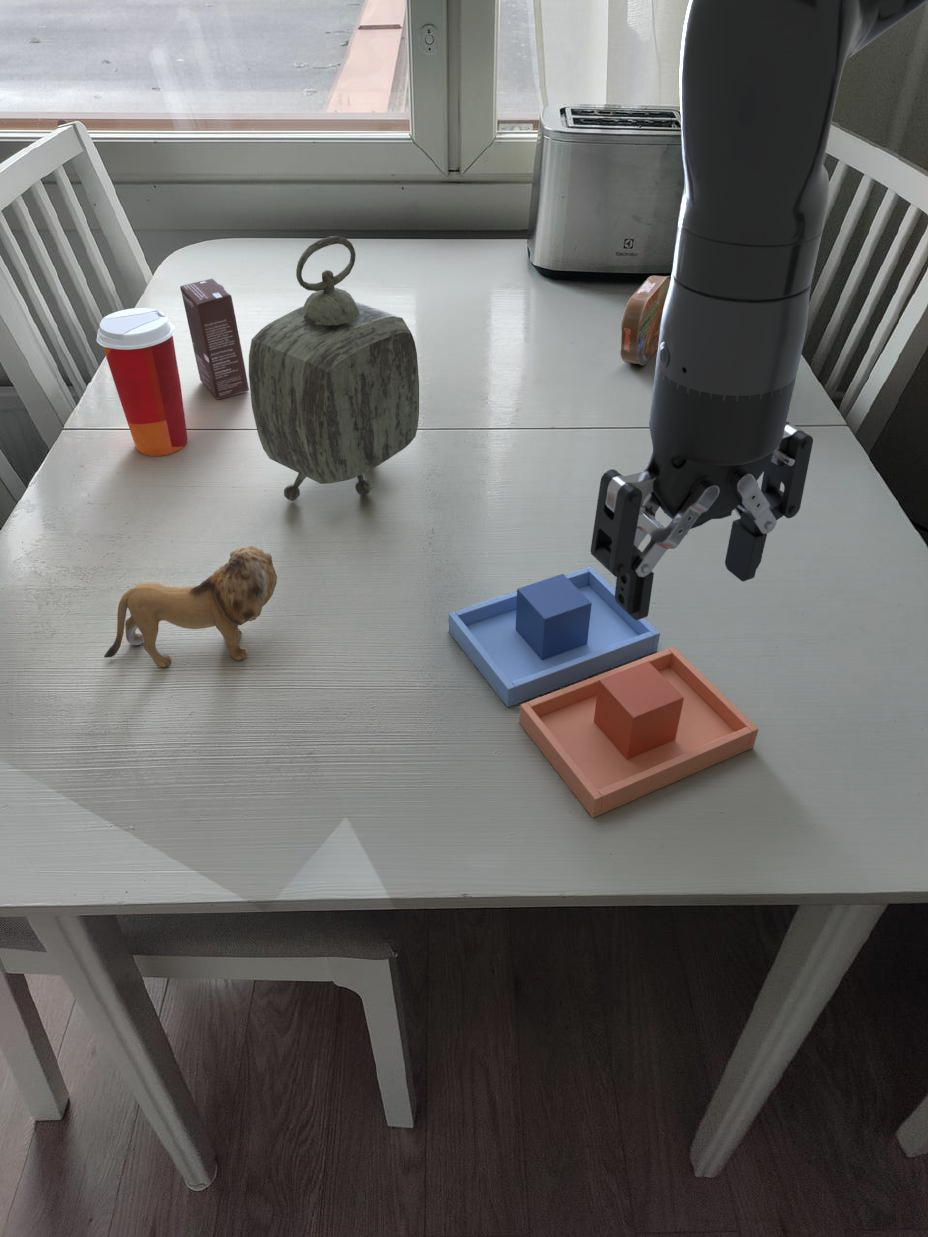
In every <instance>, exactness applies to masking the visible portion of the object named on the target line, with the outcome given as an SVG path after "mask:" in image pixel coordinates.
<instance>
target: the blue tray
mask: <svg viewBox="0 0 928 1237" xmlns="http://www.w3.org/2000/svg"><path fill="white" fill-rule="evenodd" d="M564 575H565V576H566V577H567V578H568V579H569V580H570V581H571V582H572V584H573V585H574V586H575V587H576V588H577V589H578V590H579V591H580V592H581V593H582V594H583V595H584V596H585V597H586V598H587V599H588V600H589V601H590V602H591V603H592V605H591V614H590V623H589V633H588V642H587V644H585V645H583V646H580V647H577V648H574V649H572V650H569V651H566V652H563V653H561V654H558V655H555V656H552V657H550V658H547V659H544V660H541V658H540V657H539V656H538V655H537V654H536V653H535V651H534V650H533V649H532V648H531V647H530V646H529V644H528V643H527V642H526V641H525V640H524V639H523V637H522V636H521V635H520V634H519V633H518V632H517V630H516V605H517V590H515V591H512V592H509V593H507V594H504V595H501V596H498V597H494V598H491V599H488V600H485V601H482V602H479V603H476V604H473V605H471V606H467V607H464V608H461V609H458V610H455V611H452V612H449V613H448V632H449V634H450V635H451V636H452V638H453V639H454V640H455V642H456V643H457V644H458V645H459V647H460V648H461V649H462V651H463V652H464V653H465V654H466V656H467V657H468V658H469V660H470V661H471V663H473V665H474V666H475V667H476V669H477V670H478V671H479V673H480V674H481V676H483V678H484V679H485V680H486V682H487V683H488V685H490V687H491V688H492V690H493V691H494V692H495V693H496V694H497V696H498V697H499V698H500V700H501V701H502V702H503V704H504V706H506V707H507V708H511V707H513V706H516V705H518V704H522V703H525V702H526V701H530V700H532V699H535V698H538V697H540V696H542V695H546V694H548V693H549V692H550V693H551V692H552V691H553V692H554V691H556V690H559V689H562V688H564V687H567V686H568V685H572V684H575V683H576V682H580V681H583V680H584V679H588V678H589V677H590V678H591V677H593V676H596V675H599V674H601V673H604V672H605V671H606V672H607V671H609V670H612V669H614V668H617V667H620V666H622V665H625V664H628V663H630V662H633V661H636V660H638V659H641V658H644V657H646V656H649V655H651V654H654V653H657V652H658V648H659V641H660V635H661V633H660V631H659V630H657V629H656V628H655V627H654V626H653V624H651V623H650V622H649V621H648V620H647V619H646V617H645V618H642V619H640V620H635V619H634V618H633V617H631V616H630V615H629V614H628V613H627V612H626V611H625V610H624V609H623V608H622V607H621V606H620V605H619V604H618V603H617V602H616V600H615V591H616V590H615V588H614V587H613V585H611V584H610V583H609V581H608V580H606V579H605V578H604V577H603V576H602V575H601V574H600V573H599V572H598V571H597V570H596V569H595V568H594V567H593V566H588V567H584V568H582V569H578V570H575V571H573V572H570V573H567V574H564Z"/></svg>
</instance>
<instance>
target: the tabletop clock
mask: <svg viewBox="0 0 928 1237" xmlns="http://www.w3.org/2000/svg"><path fill="white" fill-rule="evenodd" d="M332 245H343V246H344V247H345V248H347V250H348V251H349V254H350V258H349V262H348V264H347V265H346V266H345V268H343V269H342V270H341V271H340V272H338V274H336V275H335V276H334V272H333V271H331V270H328V269H325V270H323V271H322V272H321V281H319V282H314V283H313V282H307V281H305V280H304V279H303V276H302V273H303V269H304V266H305V264H306V263H307V261H308V259H309V258H310V257H311V256H312V255H313V254H314V253H316V252H317V251H319V250H321V249H323V248H326V247H329V246H332ZM299 257H300V258H299V259H298V261H297V265H296V274H295V276H296V280H297V282H298V284H299V286H300V287H302V288H303V289H305V290H307V291H313V292H312V293H311V294H310V295H309V296H308V297H307V298H306V300H305V302H304V304H303V306H300V307H298V308H296V309H294V310H293V311H290V312H288V313H287V314H284V315H283V316H281V317H279V318H277V319H275V320H273V321H271V322H269V323H268V324H266V325H264V327H263V328H261V329H260V330H259V331H258V332H257V333H256V334H255V335H254V336H253V338H251V341H250V349H249V352H248V380H249V382H248V383H249V393H250V402H251V409H252V414H253V418H254V422H255V426H256V432H257V435H258V439H259V441H260V445H261V446H262V449H263V451H264V453H265V454H266V455H267V457H268V458H269V459H270V460H271V461H274V462H275V463H278V464H279V465H281V466H284V467H285V468H288V469H290V470H292V471H293V472H295V473H297V476H296V478H295V480H294V482H293V483H291V484H288V485H286V486H285V487H284V489H283V496H284V498H286V499H287V500H288V501H297V499H298V498H299V497H300V495H301V490H300V488H299V487H300V486H301V485H302V483H303V482H304V481H305V479H306V478H308V479H310V480H312V481H314V482H316V483H319V484H320V485H325V484H327V485H328V484H334V483H339V482H344V481H345V482H346V481H349V480H352V479H355V478H356V477H357V481H356V482H355V485H354V488H355V491H356V493H357V494H358V495H360V496H366V495H368V494H370V493H371V491H372V485H371V482H370V481H369V480H367V479H364V474H365V473H366V472H368V471H370V470H373V469H374V468H377V467H378V466H380V465H382V464H384V463H385V462H386V461H388V460H389V459H391V458H392V457H394V456H396V455H397V454H399V453H400V452H402V451H403V450H404V449H406V448H407V447H408V446H409V445H410V444H411V443H412V441H414V440H415V438H416V436H417V431H418V428H419V418H420V376H419V375H420V374H419V365H418V364H419V362H418V352H417V346H416V342H415V338H414V336H413V333H412V331H411V329H410V328H409V327H408V325H407V323H406V321H405V320H404V318H403V317H400V316H397V315H396V314H393V313H389V312H387V311H383V310H381V309H378V308H376V307H372V306H369V305H366V304H363V303H360V302H358V301H355V299H354V298H353V296H352V295H351V293H350V292H348V291H347V290H345V289H342V288H339V287H335V286H337V285H338V284H339V283H341V282H342V281H344V280H345V279H346V277H348V276H349V275H350V274H351V272H352V270H353V268H354V266H355V263H356V250H355V248H354V246H353V243H352V242H351V241H350V240H349V239H347V238H346V237H343V236H340V235H332V236H331V235H330V236H327V237H323V238H321V239H318V240H316V241H314V243H311V244H310V245H309V246H308V247H307V248H306V249H305V250H304V251H303V252H302V253H301V255H300V256H299Z"/></svg>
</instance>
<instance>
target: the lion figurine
mask: <svg viewBox="0 0 928 1237" xmlns="http://www.w3.org/2000/svg"><path fill="white" fill-rule="evenodd" d="M229 556H230V557H229V559H228V561H227V562H226V563H224V565H222V566H219V568H218V569H216V570H215V571H214V572H213V573H212V575H210V576H208V577H207V578H205V580H203V581H201V583H200V584H198V585H190V586H188V585H187V586H170V585H164V584H161V583H158V582H152V581H147V582H143V583H139V584H137V585H134V586H133V587H131V588H130V589H127V590H126V591H125V592H124V593H123V595H122V596H121V597H120V600H119V602H118V607H117V616H116V617H117V619H116V620H117V621H116V637H115V640H114V641H113V644H112V645H111V646H110V647H109V648H108V650H107V651H106V653H105V654H104V655H103V658H105V659H107V658H113V657H114V656H116V654H117V653H118V652H119V650H120V648H121V647H122V646H121V645H122V642H123V638H124V631H125V639H126V642H128V644H129V645H132V646H139V645H142V644H143V645H142V647H143V649H144V651H146V653H147V654H148V655H149V657H150V658H151V659H152V661H153V663H154V664H155V665H156V666H158V667H160V668H167V667H169V666H171V664H172V657H171V655H169V654H162V653H161V652H159V650H158V649H157V645H156V641H157V638H158V634H159V629H160V628H159V627H160V626H159V624H160V622H161V621H165V622H168V623H169V624H171V625H174V626H176V627H179V628H182V629H189V630H203V629H208V628H213V627H215V628H216V629H217V630H218V631H219V632H220V634H221V636H222V638H223V640H224V643H225V645H226V649H227V651H228V653H229V655H230V657H232V659H234V660H235V661H243V660H245V659H247V657H248V652H247V651H248V650H247V649H246V648H242V647H241V646H240V644H239V640H240V638H241V637H242V636H243V632H242V631H241V630H240V629H239V626H242V625H243V624H246V623H248V622H252V621H255V620H256V619H257V618H258V617H260V616H261V613H262V609H263V607H264V606H266V605H267V604H268V602H269V601H270V600H271V598H272V597H273V596H274V592H275V589H276V586H277V583H278V574H277V571H276V569H275V567H274V563H273V556H272V555H271V553H266V552H264V550H262V549H258V547H255V546H253V545H248V546H244V547H240V548H237V549H235V550H233V551H231V552H230V553H229ZM127 610H128V611H129V613H130V617H128V618H127ZM126 618H127V619H126ZM137 630H139V631H140V633H136V631H137Z"/></svg>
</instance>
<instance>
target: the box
mask: <svg viewBox="0 0 928 1237" xmlns="http://www.w3.org/2000/svg"><path fill="white" fill-rule="evenodd" d="M179 288H180V292H181V296H182V301H183V306H184V311H185V315H186V321H187V325H188V329H189V334H190V338H191V343H192V349H193V354H194V357H195V362H196V367H197V371H198V376H199V380H200V381H201V383H202V384H203V385H204V386H205V387H206V388H207V389H208V391H210V392H211V394H212V395H213V396H214V397H215V399H216V400H222V399H225V398H229V397H234V396H236V395H237V396H238V395H241V394H245V393H246V392H250V386H249V382H248V377H247V371H246V366H245V361H244V356H243V355H244V354H243V350H242V345H241V339H240V334H239V330H238V324H237V318H236V312H235V307H234V302H233V297H232V295H231V294H230V293H229V292H228V291H227V290H226V289H225V287H224V286H223V285H222V284H220V283H218V282H217V281H216V280H215V279H214V278H209V279H204V280H199V281H195V282H191V283H186V284H183V285H180V286H179Z"/></svg>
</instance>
